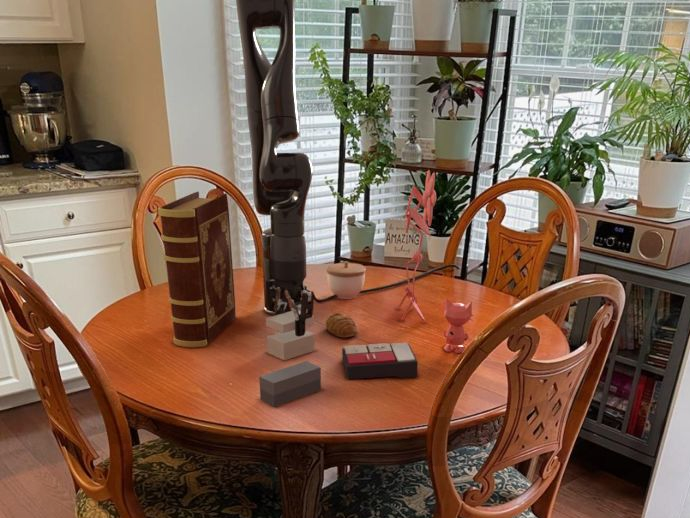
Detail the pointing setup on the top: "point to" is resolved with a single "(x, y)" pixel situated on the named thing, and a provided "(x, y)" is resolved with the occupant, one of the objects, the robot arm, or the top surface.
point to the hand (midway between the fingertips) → (290, 331)
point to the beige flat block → (286, 322)
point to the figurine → (428, 203)
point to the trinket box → (346, 279)
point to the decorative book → (198, 267)
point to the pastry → (341, 325)
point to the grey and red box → (379, 361)
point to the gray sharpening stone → (290, 383)
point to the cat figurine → (456, 324)
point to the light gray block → (290, 344)
